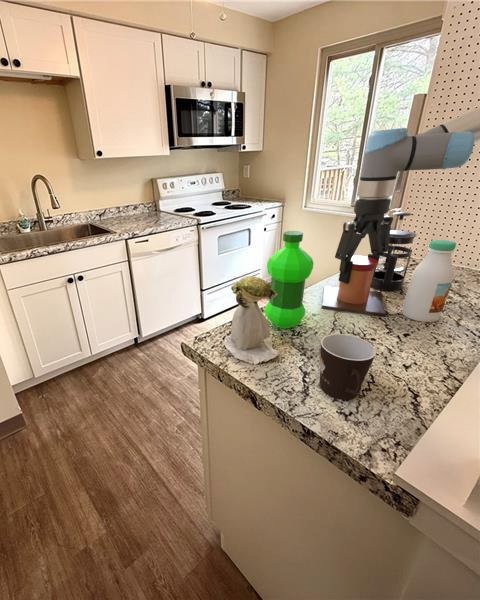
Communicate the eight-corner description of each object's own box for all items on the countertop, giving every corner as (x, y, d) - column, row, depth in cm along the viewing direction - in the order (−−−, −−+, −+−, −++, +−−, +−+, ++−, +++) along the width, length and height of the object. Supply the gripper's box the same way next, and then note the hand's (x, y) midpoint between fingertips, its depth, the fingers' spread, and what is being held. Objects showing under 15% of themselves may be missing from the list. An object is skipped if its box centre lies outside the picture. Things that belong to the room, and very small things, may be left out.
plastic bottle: (276, 311, 91) (285, 226, 80) (312, 323, 83) (326, 231, 72) (255, 323, 86) (261, 234, 75) (290, 337, 78) (302, 240, 67)
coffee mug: (319, 369, 66) (326, 329, 62) (367, 384, 61) (379, 342, 57) (303, 401, 59) (310, 358, 54) (357, 422, 53) (369, 376, 49)
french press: (366, 277, 106) (382, 209, 96) (401, 281, 101) (421, 209, 91) (366, 290, 97) (382, 216, 87) (404, 295, 92) (426, 217, 82)
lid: (358, 259, 92) (359, 253, 91) (384, 267, 84) (385, 261, 84) (335, 263, 90) (336, 258, 89) (359, 272, 83) (360, 266, 82)
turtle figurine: (228, 364, 71) (230, 292, 63) (221, 334, 82) (222, 270, 74) (282, 364, 69) (291, 289, 61) (267, 333, 81) (273, 267, 73)
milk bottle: (412, 323, 79) (436, 247, 70) (394, 309, 86) (414, 238, 77) (446, 322, 77) (475, 245, 69) (426, 308, 84) (449, 236, 76)
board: (380, 294, 94) (381, 291, 94) (385, 317, 83) (386, 313, 82) (324, 288, 101) (324, 286, 101) (321, 308, 90) (321, 305, 89)
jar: (366, 294, 93) (375, 258, 88) (368, 305, 87) (377, 267, 82) (337, 291, 96) (343, 256, 91) (336, 301, 91) (343, 264, 86)
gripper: (392, 191, 85) (373, 269, 94) (327, 200, 81) (315, 281, 90) (421, 193, 78) (398, 277, 88) (352, 204, 74) (335, 290, 84)
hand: (356, 279), depth 89 cm, fingers closed on lid, 8 cm apart
